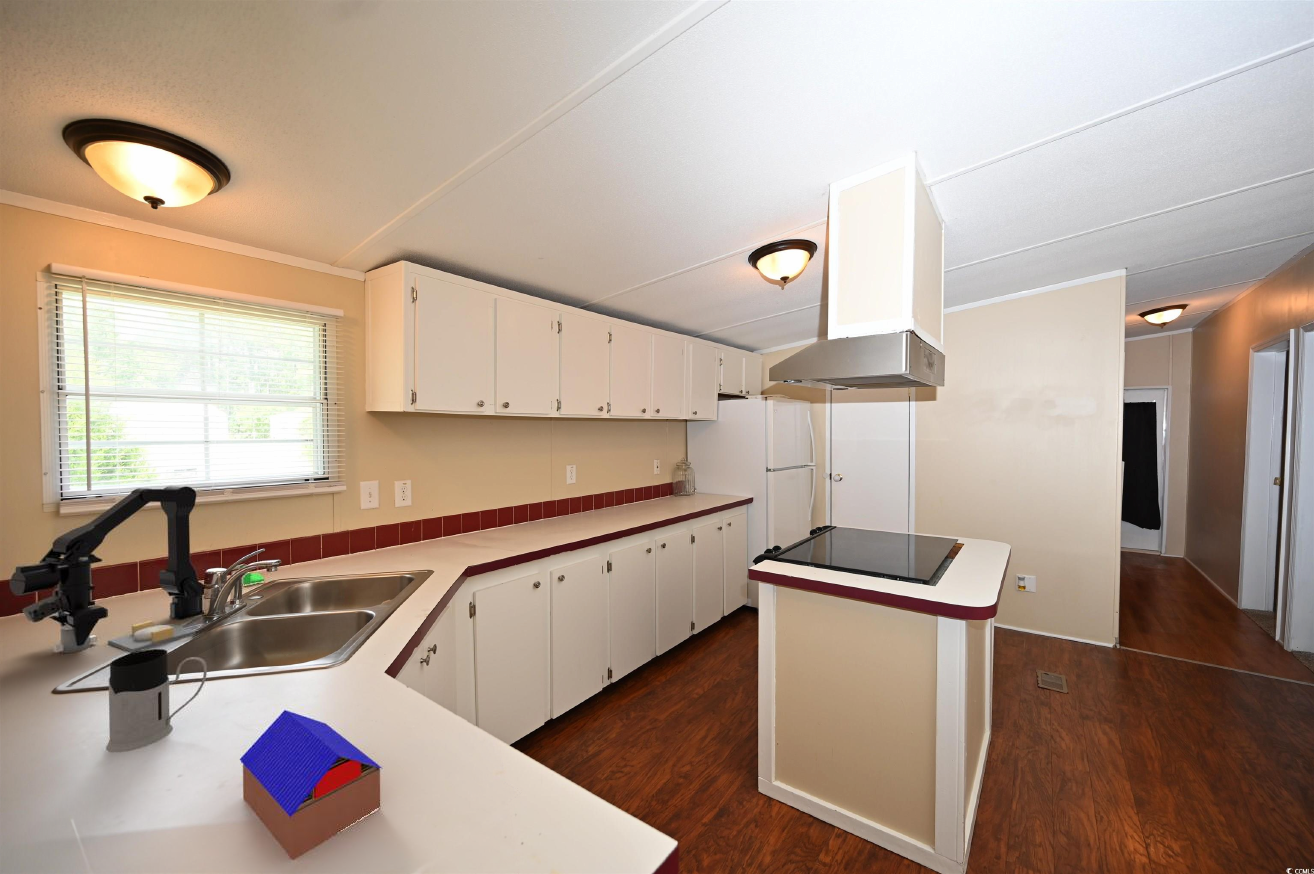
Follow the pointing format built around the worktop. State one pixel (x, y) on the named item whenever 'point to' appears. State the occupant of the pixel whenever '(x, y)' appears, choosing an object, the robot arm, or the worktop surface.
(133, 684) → the glass holder
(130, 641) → the board
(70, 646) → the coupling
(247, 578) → the mechanical part
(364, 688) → the worktop surface
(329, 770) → the house
